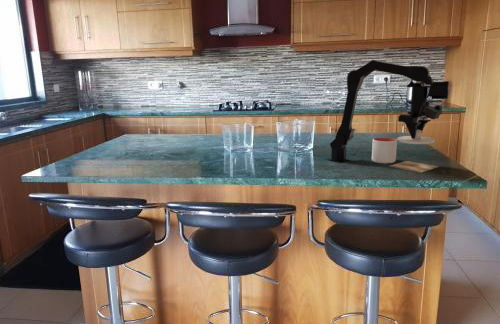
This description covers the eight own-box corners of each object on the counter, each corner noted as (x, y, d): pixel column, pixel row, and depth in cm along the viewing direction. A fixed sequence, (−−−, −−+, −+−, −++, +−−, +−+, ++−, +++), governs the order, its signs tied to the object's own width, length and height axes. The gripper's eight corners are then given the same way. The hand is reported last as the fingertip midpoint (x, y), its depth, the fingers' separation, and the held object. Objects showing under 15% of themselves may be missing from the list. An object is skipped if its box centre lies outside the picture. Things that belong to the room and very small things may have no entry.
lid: (423, 145, 148) (424, 134, 147) (390, 140, 159) (391, 130, 158) (441, 140, 156) (442, 130, 155) (409, 136, 167) (409, 126, 166)
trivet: (420, 174, 151) (420, 172, 151) (388, 167, 162) (388, 166, 161) (438, 168, 159) (438, 166, 159) (406, 162, 170) (406, 160, 170)
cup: (369, 163, 169) (370, 140, 167) (373, 158, 178) (375, 136, 175) (393, 165, 165) (395, 142, 162) (397, 160, 173) (398, 138, 171)
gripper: (426, 101, 142) (423, 143, 146) (451, 98, 153) (447, 137, 157) (398, 100, 151) (396, 139, 154) (423, 97, 162) (420, 134, 165)
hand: (415, 137), depth 157 cm, fingers closed on lid, 4 cm apart
